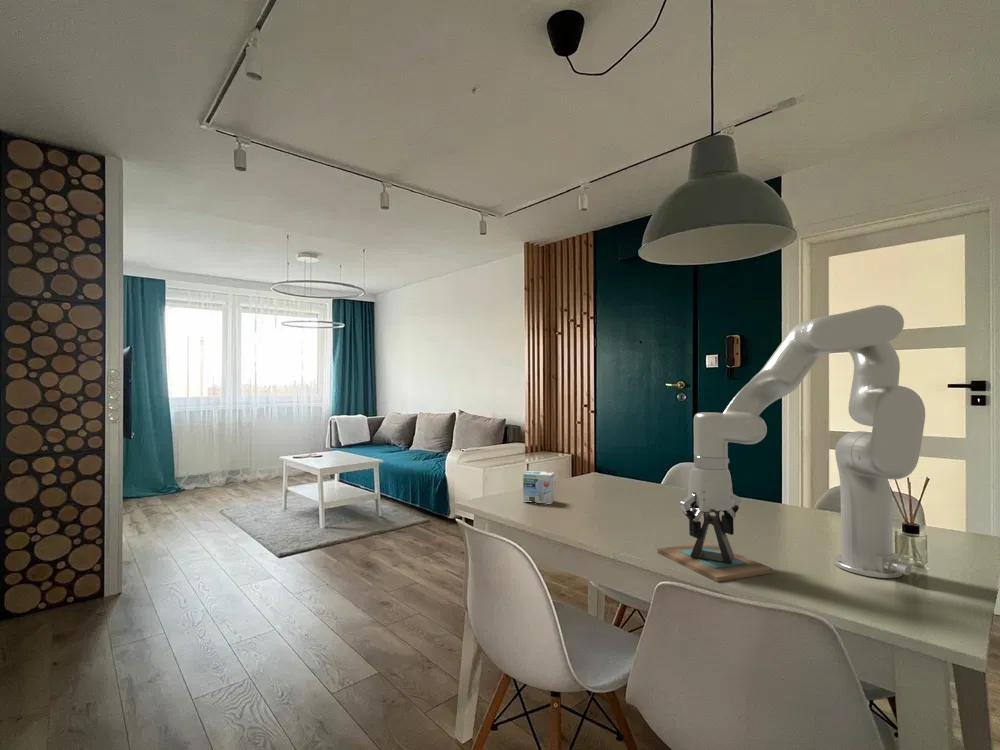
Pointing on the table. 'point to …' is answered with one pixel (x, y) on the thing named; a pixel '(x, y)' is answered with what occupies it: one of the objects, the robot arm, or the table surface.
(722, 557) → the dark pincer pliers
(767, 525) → the table surface
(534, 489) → the light bulb box
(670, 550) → the wooden board
